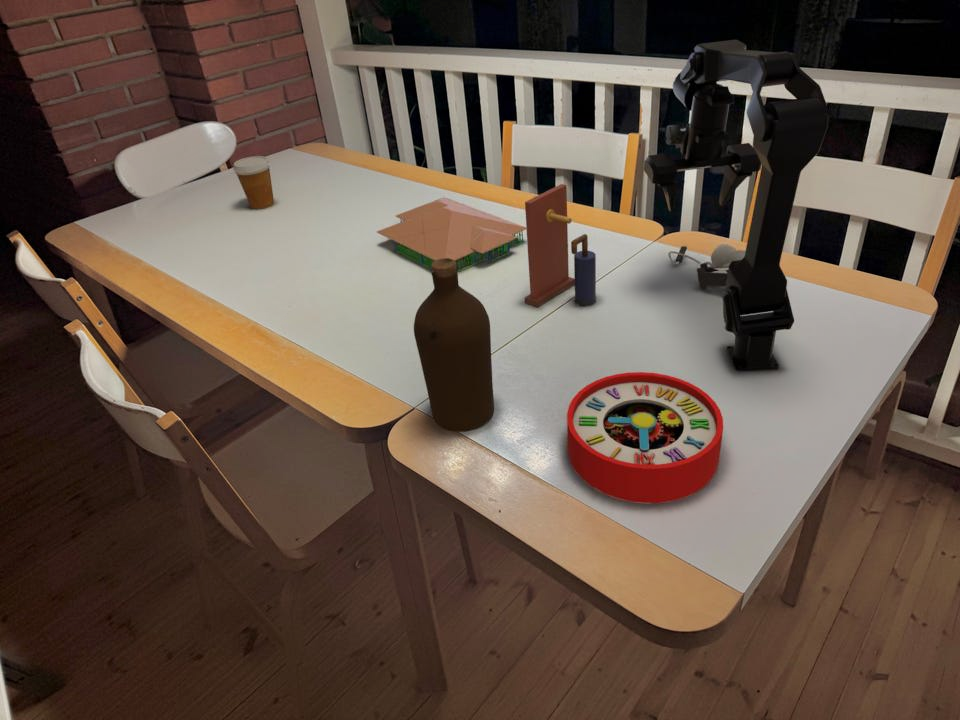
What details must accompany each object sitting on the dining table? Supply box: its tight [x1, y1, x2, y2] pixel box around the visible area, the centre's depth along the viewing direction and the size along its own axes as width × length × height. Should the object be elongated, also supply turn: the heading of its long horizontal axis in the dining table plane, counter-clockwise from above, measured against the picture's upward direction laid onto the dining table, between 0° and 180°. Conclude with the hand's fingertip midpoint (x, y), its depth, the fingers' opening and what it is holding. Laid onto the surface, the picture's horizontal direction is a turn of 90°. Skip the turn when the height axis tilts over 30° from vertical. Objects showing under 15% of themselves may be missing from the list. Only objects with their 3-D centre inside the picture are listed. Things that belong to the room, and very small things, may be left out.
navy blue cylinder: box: [570, 233, 597, 307], centre depth 125 cm, size 6×4×13 cm
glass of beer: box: [232, 155, 275, 210], centre depth 185 cm, size 10×10×12 cm
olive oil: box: [413, 258, 495, 433], centre depth 98 cm, size 11×11×25 cm
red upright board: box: [524, 183, 575, 308], centre depth 126 cm, size 7×11×20 cm, turn 136°
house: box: [376, 196, 527, 273], centre depth 154 cm, size 23×33×8 cm
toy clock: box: [566, 371, 724, 504], centre depth 93 cm, size 20×6×20 cm
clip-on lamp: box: [667, 243, 746, 290], centre depth 132 cm, size 12×6×18 cm
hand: (695, 207), depth 124 cm, fingers open, 9 cm apart
